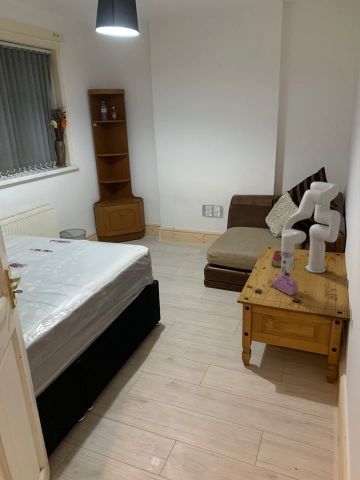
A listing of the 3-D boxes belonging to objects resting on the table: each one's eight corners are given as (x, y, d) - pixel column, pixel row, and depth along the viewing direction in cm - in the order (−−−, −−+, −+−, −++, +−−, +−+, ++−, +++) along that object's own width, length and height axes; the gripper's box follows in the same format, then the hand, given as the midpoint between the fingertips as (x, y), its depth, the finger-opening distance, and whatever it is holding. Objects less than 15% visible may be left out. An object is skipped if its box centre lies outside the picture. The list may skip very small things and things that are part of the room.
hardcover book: (271, 266, 250) (272, 260, 249) (274, 255, 269) (274, 249, 267) (289, 267, 246) (289, 262, 245) (290, 256, 265) (291, 251, 264)
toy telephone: (298, 293, 212) (299, 278, 208) (291, 296, 209) (292, 281, 205) (276, 282, 226) (276, 268, 223) (268, 285, 223) (269, 271, 220)
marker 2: (294, 299, 206) (294, 297, 205) (299, 300, 204) (299, 298, 204) (292, 301, 204) (292, 299, 203) (298, 303, 202) (298, 301, 202)
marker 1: (257, 290, 218) (257, 288, 218) (261, 291, 217) (261, 289, 216) (255, 292, 216) (255, 290, 216) (259, 293, 214) (259, 291, 214)
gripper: (289, 259, 205) (288, 287, 212) (297, 249, 217) (296, 276, 223) (276, 256, 210) (276, 284, 216) (285, 247, 221) (284, 274, 227)
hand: (286, 280), depth 220 cm, fingers closed
